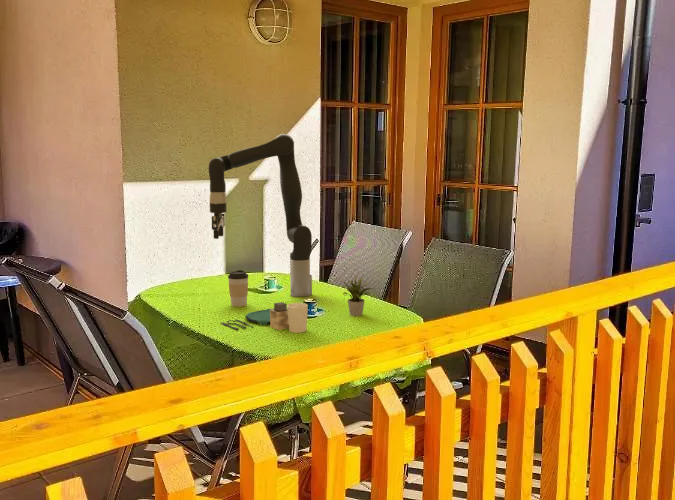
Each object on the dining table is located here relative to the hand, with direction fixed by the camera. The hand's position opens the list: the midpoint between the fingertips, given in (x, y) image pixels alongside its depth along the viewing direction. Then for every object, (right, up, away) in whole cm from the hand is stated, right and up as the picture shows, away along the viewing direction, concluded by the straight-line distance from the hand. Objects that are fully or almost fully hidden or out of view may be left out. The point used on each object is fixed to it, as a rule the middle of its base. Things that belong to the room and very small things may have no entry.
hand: (218, 237), depth 320 cm
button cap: (+32, -29, -46) cm, 63 cm away
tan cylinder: (+39, -37, -50) cm, 73 cm away
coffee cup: (+11, -30, -8) cm, 33 cm away
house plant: (+61, -33, -28) cm, 75 cm away
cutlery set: (+23, -35, -35) cm, 55 cm away
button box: (+32, -36, -45) cm, 66 cm away
